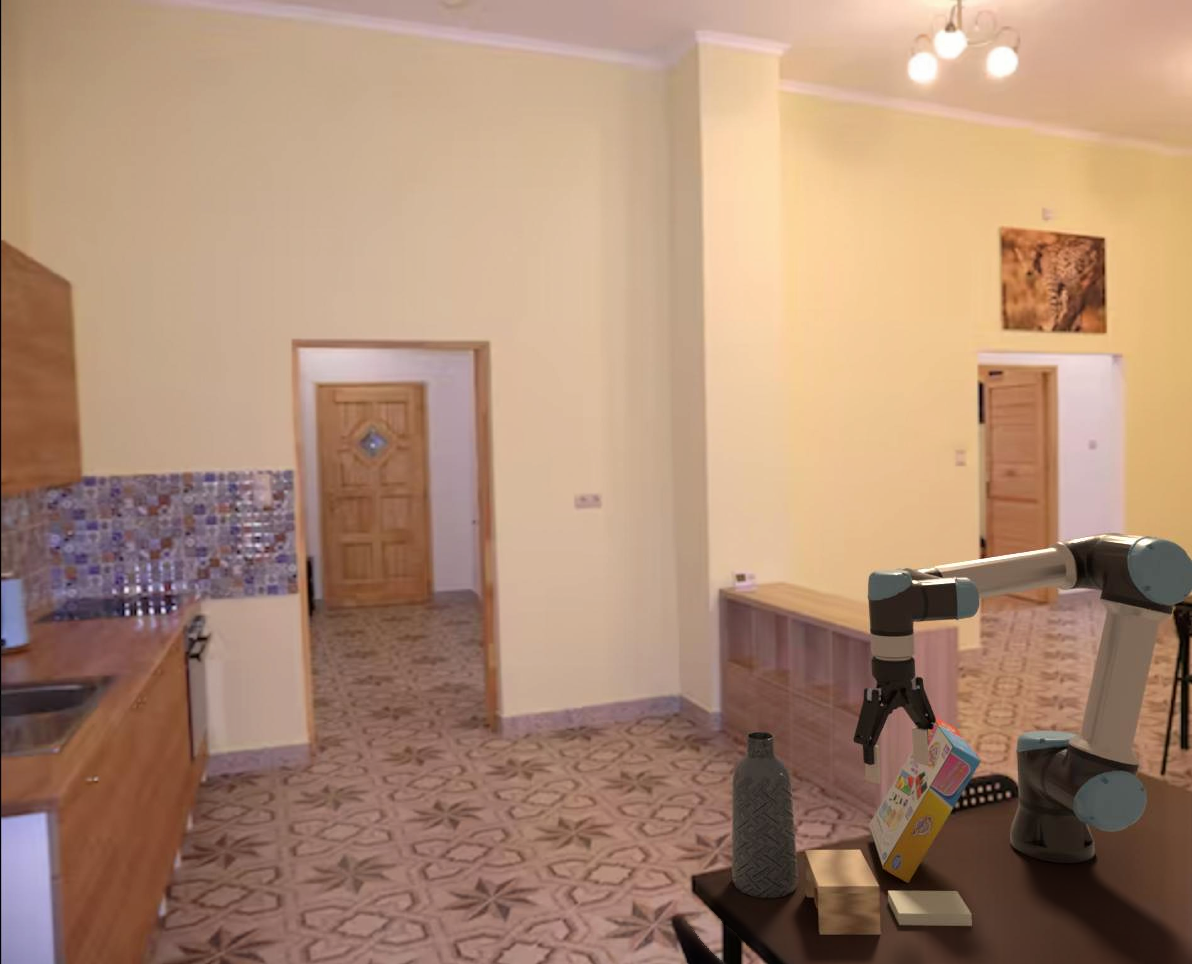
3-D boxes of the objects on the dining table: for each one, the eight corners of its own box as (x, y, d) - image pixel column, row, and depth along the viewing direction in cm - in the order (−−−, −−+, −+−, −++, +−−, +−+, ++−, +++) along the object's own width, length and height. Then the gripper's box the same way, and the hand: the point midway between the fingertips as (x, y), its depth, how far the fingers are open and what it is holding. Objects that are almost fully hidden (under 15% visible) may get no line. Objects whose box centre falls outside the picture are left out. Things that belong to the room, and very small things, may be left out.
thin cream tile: (957, 904, 159) (956, 890, 158) (971, 928, 151) (971, 913, 150) (888, 904, 160) (887, 890, 160) (899, 927, 152) (898, 913, 152)
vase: (726, 894, 164) (721, 743, 164) (739, 866, 176) (734, 724, 175) (793, 903, 160) (788, 748, 160) (801, 873, 172) (797, 728, 171)
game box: (908, 885, 165) (982, 761, 162) (881, 869, 166) (954, 746, 163) (891, 838, 186) (957, 727, 183) (867, 824, 187) (932, 714, 184)
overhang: (861, 893, 163) (860, 849, 163) (880, 934, 149) (879, 886, 149) (806, 894, 163) (804, 849, 163) (820, 934, 149) (818, 886, 149)
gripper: (918, 642, 171) (922, 751, 171) (829, 664, 157) (835, 783, 157) (952, 648, 165) (957, 761, 165) (863, 671, 151) (869, 795, 151)
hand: (897, 772), depth 161 cm, fingers open, 13 cm apart
